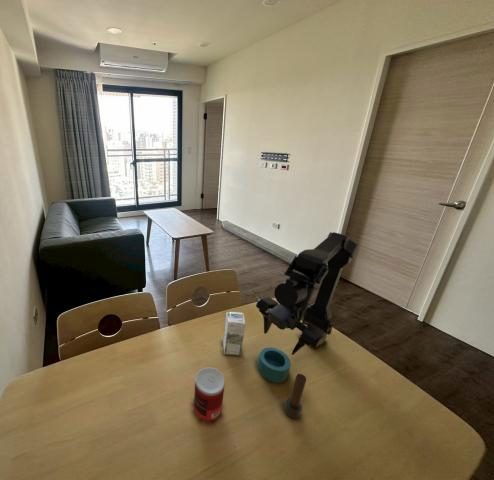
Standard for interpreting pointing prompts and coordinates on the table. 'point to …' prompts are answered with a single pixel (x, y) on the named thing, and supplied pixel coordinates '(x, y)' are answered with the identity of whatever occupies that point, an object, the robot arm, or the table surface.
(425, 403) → the table surface
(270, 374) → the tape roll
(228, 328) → the syrup box
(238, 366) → the table surface
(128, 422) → the table surface
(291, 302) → the robot arm
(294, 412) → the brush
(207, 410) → the canned food
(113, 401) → the table surface
